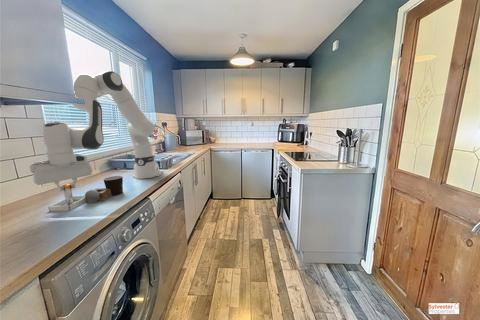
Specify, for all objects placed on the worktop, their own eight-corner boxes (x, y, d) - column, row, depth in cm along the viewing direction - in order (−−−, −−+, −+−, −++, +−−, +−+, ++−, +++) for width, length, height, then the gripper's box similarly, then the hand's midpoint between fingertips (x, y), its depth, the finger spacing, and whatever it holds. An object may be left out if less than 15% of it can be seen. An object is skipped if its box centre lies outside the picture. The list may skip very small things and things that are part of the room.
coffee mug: (119, 199, 106) (116, 179, 104) (102, 199, 106) (99, 180, 104) (131, 191, 117) (129, 174, 116) (116, 191, 118) (113, 174, 116)
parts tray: (72, 201, 103) (71, 196, 103) (90, 201, 104) (89, 195, 103) (49, 213, 91) (47, 206, 90) (70, 212, 91) (69, 205, 90)
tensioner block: (97, 197, 108) (95, 184, 107) (113, 197, 108) (111, 183, 107) (84, 205, 98) (81, 191, 97) (101, 204, 98) (99, 190, 97)
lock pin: (70, 204, 98) (66, 183, 97) (75, 204, 98) (72, 183, 96) (64, 206, 96) (60, 185, 94) (70, 206, 95) (66, 185, 94)
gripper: (30, 164, 83) (38, 197, 85) (90, 156, 99) (95, 184, 101) (27, 162, 87) (34, 194, 89) (85, 155, 103) (90, 182, 105)
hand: (67, 189), depth 95 cm, fingers closed on lock pin, 3 cm apart
